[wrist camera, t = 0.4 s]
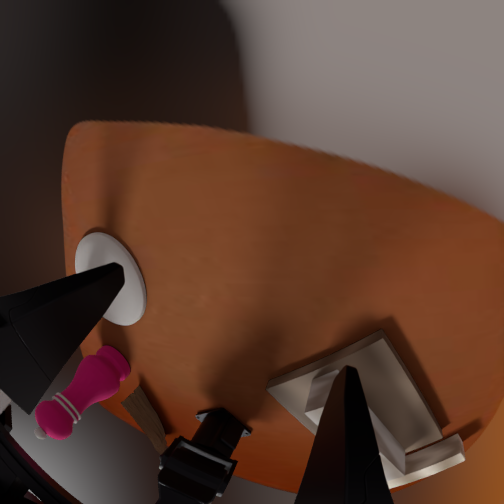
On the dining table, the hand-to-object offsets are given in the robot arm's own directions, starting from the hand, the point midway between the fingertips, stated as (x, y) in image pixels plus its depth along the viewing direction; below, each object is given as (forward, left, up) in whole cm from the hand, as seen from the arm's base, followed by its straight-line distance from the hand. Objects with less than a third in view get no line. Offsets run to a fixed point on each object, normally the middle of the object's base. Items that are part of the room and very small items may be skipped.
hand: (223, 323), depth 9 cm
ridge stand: (-6, -24, -15) cm, 29 cm away
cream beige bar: (-6, -41, -15) cm, 44 cm away
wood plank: (-40, -13, -15) cm, 45 cm away
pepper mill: (-36, -1, -15) cm, 39 cm away
